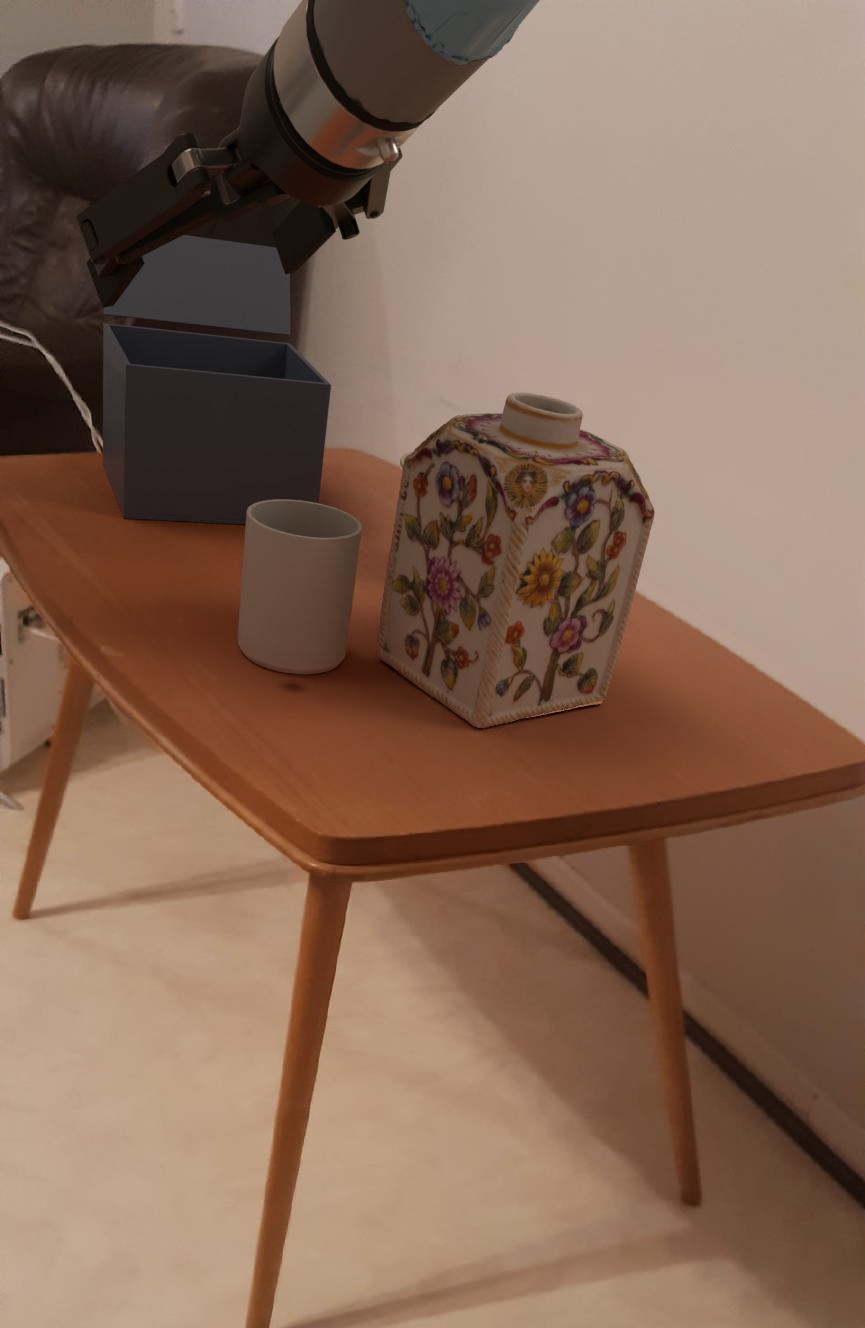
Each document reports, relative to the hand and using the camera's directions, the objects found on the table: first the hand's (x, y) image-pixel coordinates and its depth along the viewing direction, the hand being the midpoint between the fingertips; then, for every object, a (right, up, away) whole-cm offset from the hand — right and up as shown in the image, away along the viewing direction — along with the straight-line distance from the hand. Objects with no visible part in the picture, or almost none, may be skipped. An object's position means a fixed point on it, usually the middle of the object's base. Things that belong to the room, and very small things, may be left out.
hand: (194, 268), depth 80 cm
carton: (-4, -6, +24) cm, 25 cm away
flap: (-4, +11, +21) cm, 24 cm away
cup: (+6, -25, +2) cm, 25 cm away
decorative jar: (+20, -27, +2) cm, 33 cm away
